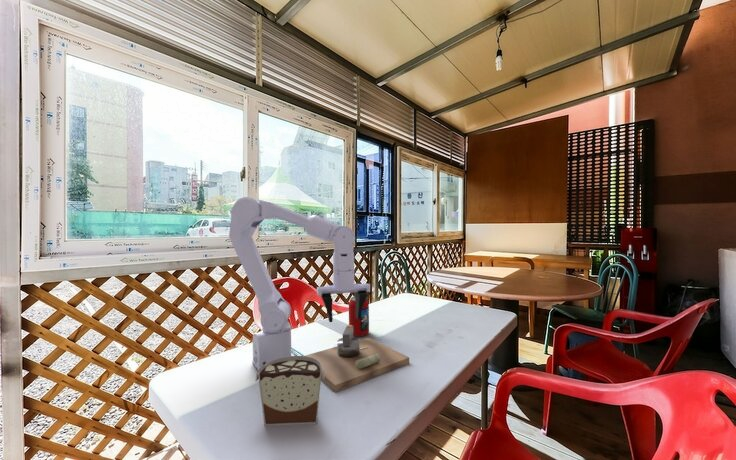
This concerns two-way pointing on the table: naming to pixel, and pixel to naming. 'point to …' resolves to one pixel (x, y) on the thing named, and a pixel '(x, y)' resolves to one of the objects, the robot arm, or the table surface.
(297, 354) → the adjustable wrench
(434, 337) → the table surface
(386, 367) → the base
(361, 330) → the beverage can
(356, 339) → the wing knob
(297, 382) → the food container
